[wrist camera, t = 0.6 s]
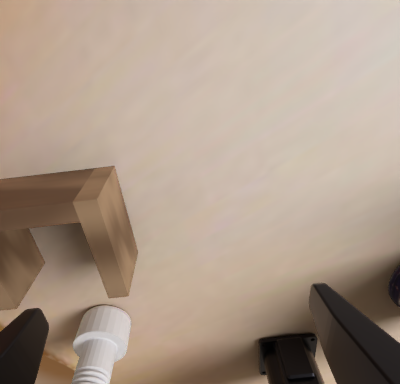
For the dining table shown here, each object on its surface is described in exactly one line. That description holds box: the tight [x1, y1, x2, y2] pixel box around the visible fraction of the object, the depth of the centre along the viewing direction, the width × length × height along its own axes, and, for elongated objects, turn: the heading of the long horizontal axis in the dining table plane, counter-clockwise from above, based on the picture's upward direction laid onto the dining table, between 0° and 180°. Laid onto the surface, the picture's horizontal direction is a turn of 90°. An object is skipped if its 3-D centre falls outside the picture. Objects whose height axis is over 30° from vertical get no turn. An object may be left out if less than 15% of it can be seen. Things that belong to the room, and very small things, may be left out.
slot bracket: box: [0, 166, 138, 310], centre depth 22 cm, size 8×10×5 cm
